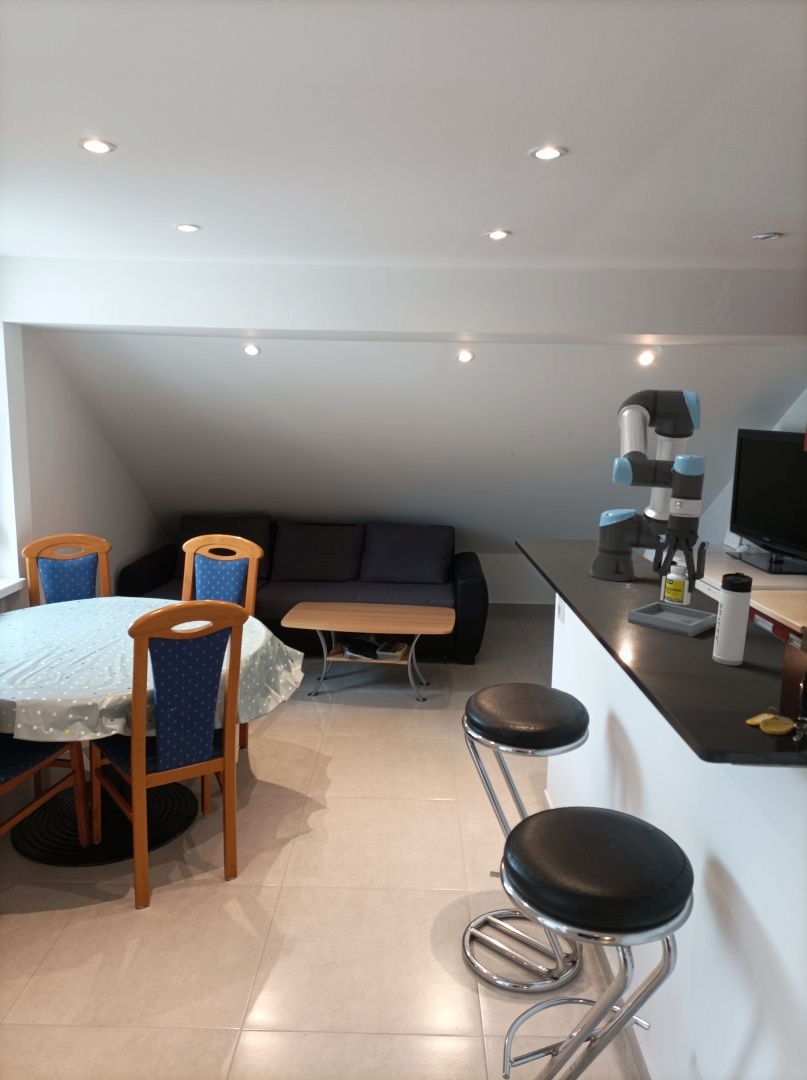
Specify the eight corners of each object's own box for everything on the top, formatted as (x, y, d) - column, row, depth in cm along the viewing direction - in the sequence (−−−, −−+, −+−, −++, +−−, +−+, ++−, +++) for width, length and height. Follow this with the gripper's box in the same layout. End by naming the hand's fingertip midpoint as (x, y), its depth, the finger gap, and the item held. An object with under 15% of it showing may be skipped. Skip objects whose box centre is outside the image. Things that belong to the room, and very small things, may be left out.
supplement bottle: (660, 601, 198) (664, 565, 197) (670, 599, 202) (673, 563, 200) (680, 606, 194) (684, 569, 193) (689, 603, 198) (693, 567, 197)
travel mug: (743, 660, 170) (754, 574, 167) (740, 667, 165) (751, 579, 162) (714, 654, 174) (724, 570, 170) (710, 662, 168) (720, 575, 165)
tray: (655, 612, 211) (656, 601, 211) (716, 625, 200) (717, 614, 199) (627, 622, 199) (628, 611, 198) (690, 637, 187) (692, 625, 187)
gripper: (644, 511, 198) (635, 597, 202) (714, 520, 185) (703, 611, 189) (656, 509, 203) (648, 593, 207) (725, 518, 191) (715, 606, 195)
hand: (674, 601), depth 198 cm, fingers closed on supplement bottle, 5 cm apart
